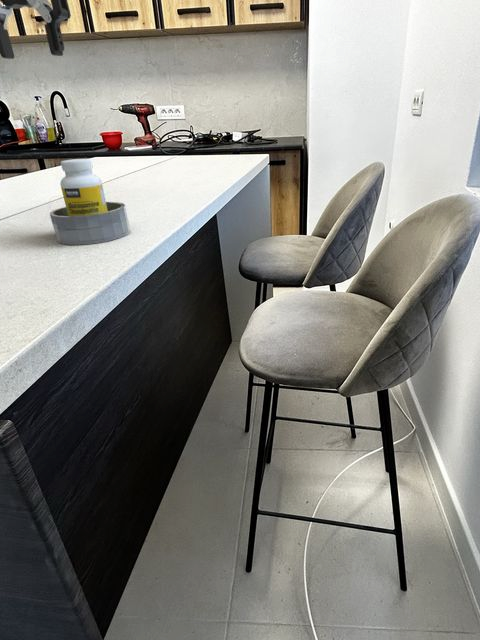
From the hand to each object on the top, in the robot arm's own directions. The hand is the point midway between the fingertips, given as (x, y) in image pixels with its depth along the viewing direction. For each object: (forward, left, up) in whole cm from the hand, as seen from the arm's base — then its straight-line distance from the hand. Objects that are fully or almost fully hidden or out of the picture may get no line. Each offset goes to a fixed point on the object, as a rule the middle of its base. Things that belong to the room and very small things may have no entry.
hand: (32, 57), depth 66 cm
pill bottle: (+5, -3, -26) cm, 27 cm away
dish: (+5, -3, -27) cm, 27 cm away
